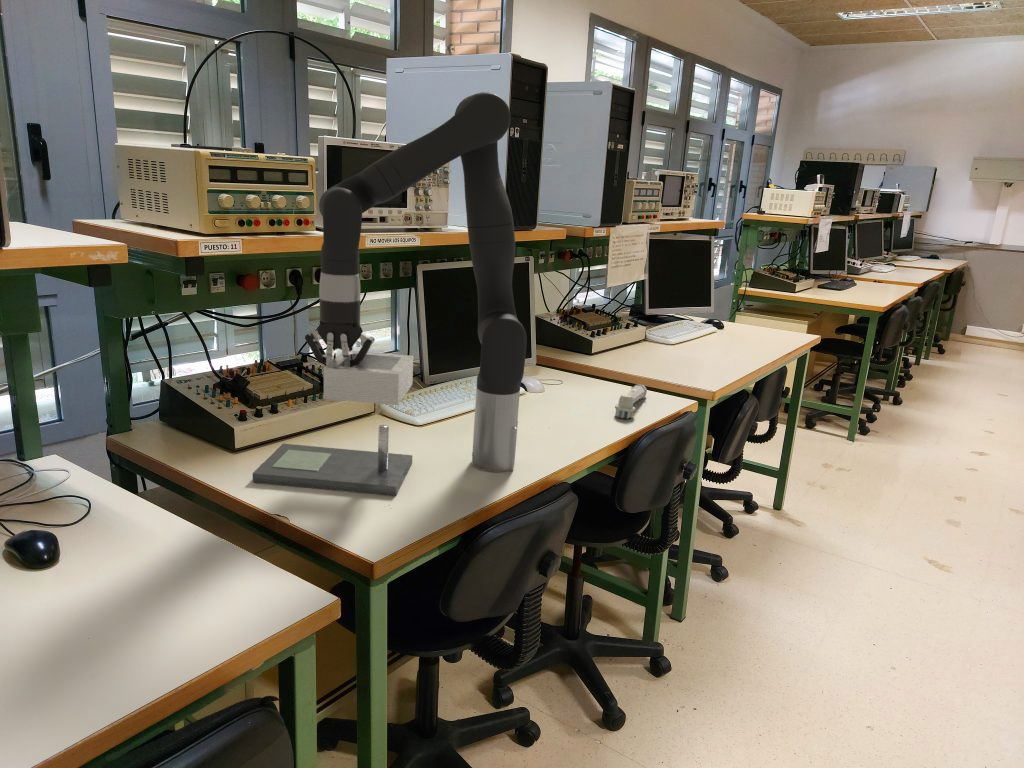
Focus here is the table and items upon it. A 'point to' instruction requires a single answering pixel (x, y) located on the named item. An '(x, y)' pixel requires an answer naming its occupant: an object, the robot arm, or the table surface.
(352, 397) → the grey recessed block
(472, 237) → the robot arm
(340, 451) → the grey base with peg
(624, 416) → the grey handheld tool
